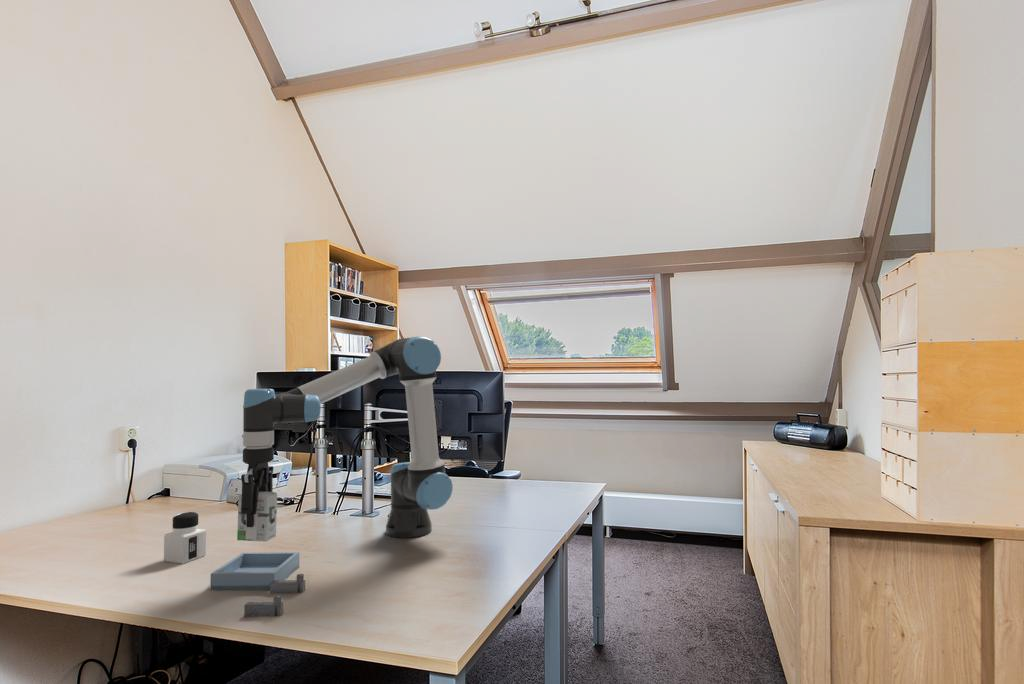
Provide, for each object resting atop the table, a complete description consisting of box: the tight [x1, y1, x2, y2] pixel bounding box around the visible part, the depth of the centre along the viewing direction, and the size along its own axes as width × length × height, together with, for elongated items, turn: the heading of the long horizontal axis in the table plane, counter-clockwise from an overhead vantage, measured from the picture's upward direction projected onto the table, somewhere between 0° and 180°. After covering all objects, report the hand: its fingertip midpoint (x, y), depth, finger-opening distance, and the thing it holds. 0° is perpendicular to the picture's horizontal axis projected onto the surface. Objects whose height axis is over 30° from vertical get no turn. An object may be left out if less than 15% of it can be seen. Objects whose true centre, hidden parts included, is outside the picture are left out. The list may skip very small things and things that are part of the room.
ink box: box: [236, 491, 278, 543], centre depth 148 cm, size 9×5×12 cm, turn 81°
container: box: [163, 511, 207, 565], centre depth 164 cm, size 8×8×13 cm
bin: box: [210, 551, 300, 591], centre depth 147 cm, size 16×16×4 cm
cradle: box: [243, 573, 306, 617], centre depth 131 cm, size 8×15×4 cm, turn 179°
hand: (257, 535), depth 148 cm, fingers closed on ink box, 5 cm apart
